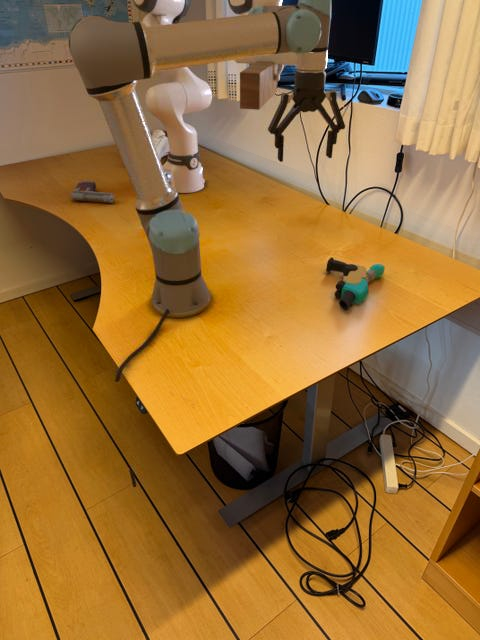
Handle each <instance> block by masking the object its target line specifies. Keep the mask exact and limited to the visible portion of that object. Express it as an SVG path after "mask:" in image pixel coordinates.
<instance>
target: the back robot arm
mask: <svg viewBox="0 0 480 640" xmlns="http://www.w3.org/2000/svg"><path fill="white" fill-rule="evenodd" d="M132 2H133V4H134V6H135V7H136V9H138V10H139V11H140V12H143V13H144V14H146V15H145V16H144V17H143V18H142V20H141V22H142V23H143V24H144V25H146V26H147V27H151V26H160V25H168V24H176V23H180V21H181V20H182V19H183V18H184V17H185V16H186V15H187V14H188V12H189V11H190V9H191V2H192V0H132ZM227 2H228V6H229V8H230V10H231V11H232V13H234V14H235V15H238V16H242V15H248V13H249V11H250V9H251V8H253V7H259V6H263V5H265V6H283V5H282V4H283V2H284V0H227ZM234 62H235V63H236V64H248V67H249V66H251V65H252V64H254V63H255V62H269V63H274V65H278V69H277V74H275V75H274V77H275V78H274V81H277V82H279V81H280V79H281V73H282V72H283V70H284V67H285V66H295V65H296V53H294V52H287V53H280V54H270V55H263V56H257V57H250V58H243V59H237V60H234ZM155 74H156V75H157V76H158V77H160V78H162V79H165V80H167V81H168V82H164V83H159V84H156V85H154V86H151V87H149V88H148V89H147V91H146V94H145V106H146V108H147V110H148V111H149V113H150V114H151V115H152V116H153V117H155V118H157V120H159V121H160V123H161V124H162V125H163V127H164V129H165V131H166V132H167V136H168V142H169V150H170V152H166V153H169V154H167V155H165V163H164V164H163V165H162V167H163V170H164V173H165V176H166V179H167V182H168V184H169V186H171V187H173V188H175V189H176V190H177V192H178V194H189V193H196V192H198V191H201V190H203V189H204V188H205V183H206V179H205V178H204V175H203V169H204V168H203V166H202V163H201V162H200V160H201V159H200V157H201V156H200V151H199V147H198V146H199V145H198V133H197V130H196V128H195V127H194V126H193V125H190V124H188V123H187V122H185V120H184V119H183V115H185V114H186V115H187V114H192V113H198V112H201V111H203V110H205V109H208V108H209V107H210V106H211V104H212V100H213V92H212V88H211V86H210V85H209V84H208V82H207V81H205V80H203V79H201V78H199V77H198V76H197V75H196V74H195V73H193V72H192V71H191V70H190V68H189V67H183V68H176V69H169V70H163V71H156V72H155ZM152 135H153V134H151V136H152Z"/></svg>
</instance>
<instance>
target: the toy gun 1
mask: <svg viewBox="0 0 480 640" xmlns="http://www.w3.org/2000/svg"><path fill="white" fill-rule="evenodd" d="M96 190H97V183H96V181H94V180H85V181H80V182H78V183H77V184H76V186H75V189H74V190H72V191H71V194H70V196H69V198H71V200H72V201H80V202H81V201H82V202H93V203H107V204H113V203H114V199H115V195H114V193H111V192H106V191H105V192H104V191H102V192H101V191H96Z"/></svg>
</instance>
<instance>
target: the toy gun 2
mask: <svg viewBox="0 0 480 640" xmlns="http://www.w3.org/2000/svg"><path fill="white" fill-rule="evenodd" d="M325 269H326V270H325V271H326V273H331V271H333V272H338V273H341V274H342V278H341V279H340V280H339V281H338V282H337V283H336V285H335V290H336V291H335V292H334V297H335V298H337V299H339V300H338V306H339V307H340V308H341V309H342V310H343V311H345V312H348V311H349V309H351V307H353V305H354V303H355V304H361V303H362V302H363V301H365V300H366V299H367V296H368V295H369V283H370V282H372V281H373V280H375V279H379V278H381V277H382V276H383V275H384V272H385V269H386V268H385V265H384V264H382V263H374V264H372V265H371V266H370V267H369V269H366V267H365V266H364V265H359V264H353V263H347V262H343V261H341V260H338V259H334V257H329V259H328V260H327V261H326V268H325Z"/></svg>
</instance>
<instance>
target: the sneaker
mask: <svg viewBox="0 0 480 640" xmlns="http://www.w3.org/2000/svg"><path fill="white" fill-rule="evenodd" d="M151 135H152V139H153V142H154V145H155V147H156V150H157V153H158V156H159V159H160V161H161V160H162V158H163V157H166V155H167V154H169V153H166V152H170V150H169V142H168V136H167V132H166V130H164V129H163V130H161V129H155V130H154V131H153V133H152V134H151Z"/></svg>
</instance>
